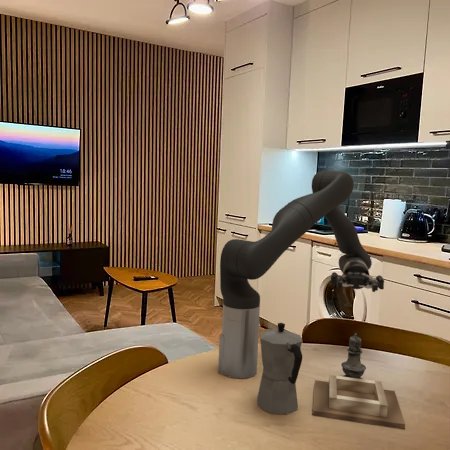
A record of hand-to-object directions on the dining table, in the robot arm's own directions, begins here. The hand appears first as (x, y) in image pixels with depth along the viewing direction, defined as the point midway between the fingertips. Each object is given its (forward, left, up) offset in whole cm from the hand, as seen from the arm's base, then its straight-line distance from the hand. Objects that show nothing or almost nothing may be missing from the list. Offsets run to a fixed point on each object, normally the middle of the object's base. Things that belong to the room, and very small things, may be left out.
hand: (357, 287), depth 119 cm
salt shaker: (0, -12, -21) cm, 24 cm away
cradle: (0, -25, -21) cm, 32 cm away
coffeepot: (-16, -31, -21) cm, 41 cm away
